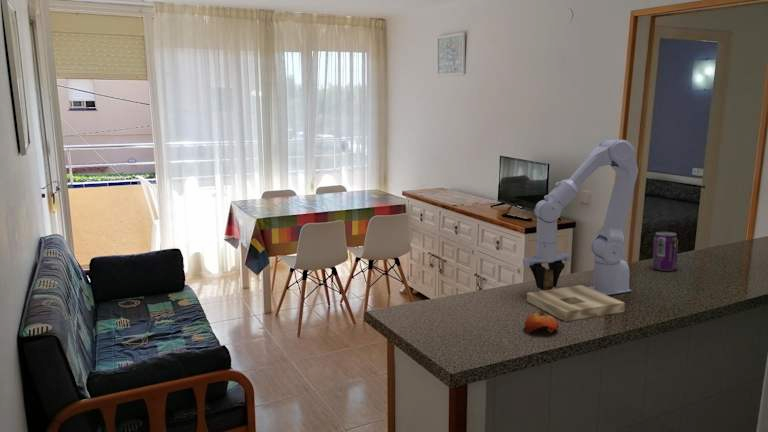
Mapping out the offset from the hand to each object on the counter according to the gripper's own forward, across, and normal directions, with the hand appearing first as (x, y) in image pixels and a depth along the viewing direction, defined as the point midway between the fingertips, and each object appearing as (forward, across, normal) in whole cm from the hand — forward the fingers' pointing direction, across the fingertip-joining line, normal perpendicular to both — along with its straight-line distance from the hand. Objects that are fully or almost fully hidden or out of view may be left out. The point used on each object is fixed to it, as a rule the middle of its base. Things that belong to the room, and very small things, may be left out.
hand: (546, 287), depth 168 cm
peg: (+2, 0, 0) cm, 2 cm away
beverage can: (+2, -49, -7) cm, 50 cm away
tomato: (+2, +18, +25) cm, 31 cm away
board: (+2, 0, +13) cm, 13 cm away
